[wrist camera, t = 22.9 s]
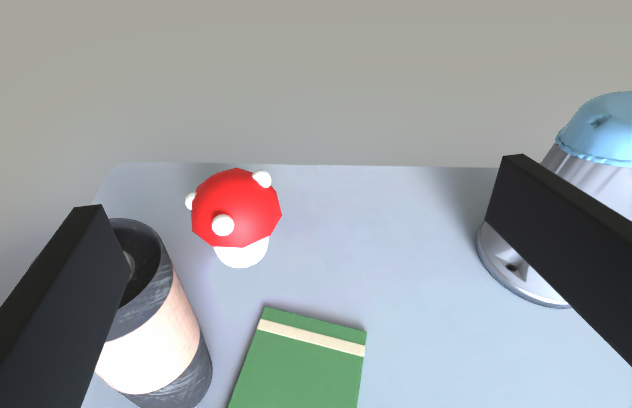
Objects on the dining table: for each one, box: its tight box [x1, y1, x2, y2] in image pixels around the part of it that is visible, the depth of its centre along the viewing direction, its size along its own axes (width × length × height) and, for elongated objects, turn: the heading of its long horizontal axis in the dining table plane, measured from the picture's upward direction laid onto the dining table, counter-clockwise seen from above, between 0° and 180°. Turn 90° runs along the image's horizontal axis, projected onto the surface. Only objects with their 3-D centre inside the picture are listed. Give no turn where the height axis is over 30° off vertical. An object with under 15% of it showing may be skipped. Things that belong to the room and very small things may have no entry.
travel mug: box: [29, 218, 212, 408], centre depth 27 cm, size 8×8×20 cm
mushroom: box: [185, 168, 282, 268], centre depth 42 cm, size 11×11×12 cm
